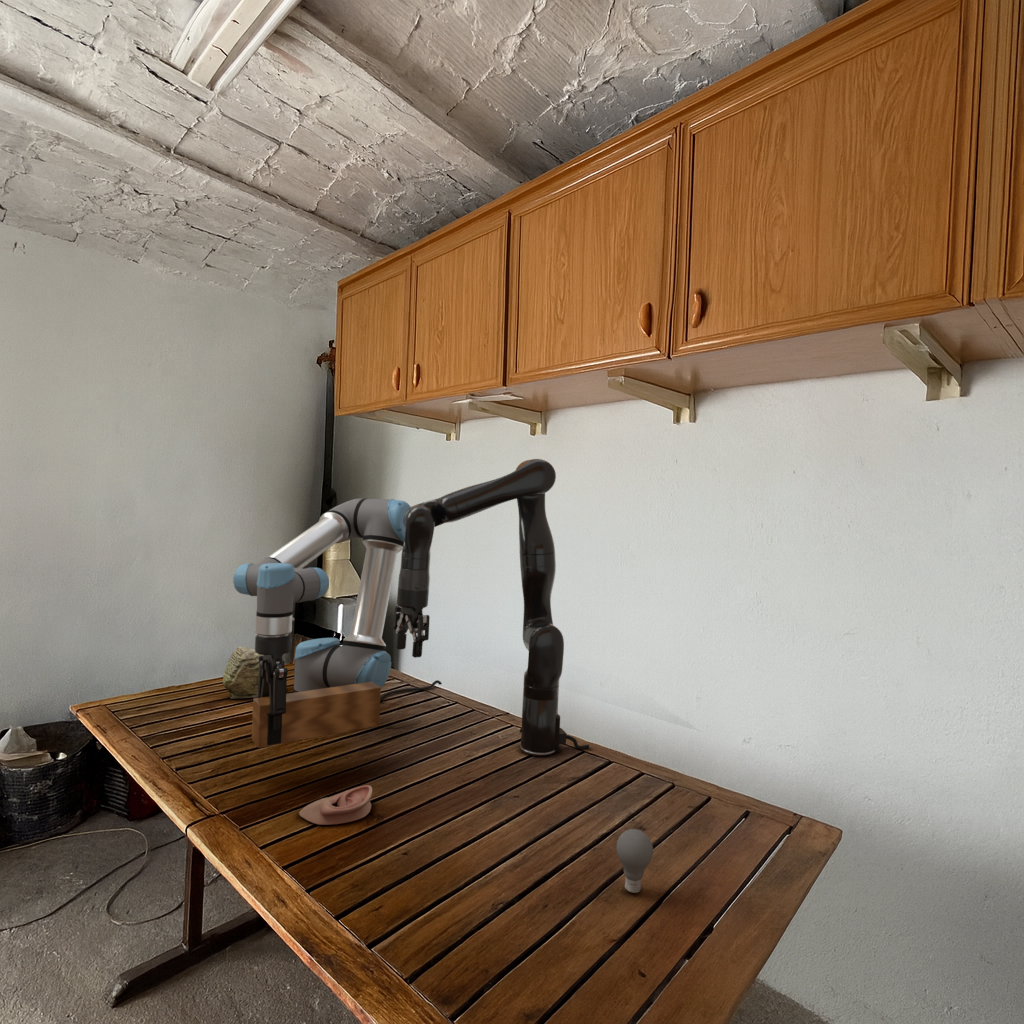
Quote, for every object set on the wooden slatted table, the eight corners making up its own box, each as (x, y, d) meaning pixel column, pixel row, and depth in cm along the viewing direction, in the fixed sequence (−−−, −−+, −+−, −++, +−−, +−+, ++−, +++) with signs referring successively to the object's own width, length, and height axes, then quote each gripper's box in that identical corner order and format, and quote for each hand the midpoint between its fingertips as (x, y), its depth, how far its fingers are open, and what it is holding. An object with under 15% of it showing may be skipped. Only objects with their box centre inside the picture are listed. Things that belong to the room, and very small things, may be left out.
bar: (258, 748, 135) (259, 705, 135) (251, 739, 140) (253, 698, 140) (379, 725, 152) (380, 687, 152) (369, 718, 156) (371, 681, 156)
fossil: (218, 695, 195) (220, 647, 195) (278, 685, 208) (279, 640, 207) (228, 703, 189) (230, 653, 188) (289, 692, 201) (290, 645, 201)
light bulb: (610, 879, 108) (613, 822, 108) (644, 879, 109) (647, 822, 109) (619, 902, 102) (622, 840, 102) (655, 901, 103) (658, 840, 103)
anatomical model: (291, 800, 123) (320, 775, 134) (290, 820, 123) (320, 794, 134) (354, 810, 120) (379, 784, 132) (353, 830, 121) (378, 803, 132)
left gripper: (304, 641, 134) (300, 750, 134) (278, 624, 149) (275, 722, 149) (268, 644, 129) (264, 757, 130) (245, 627, 144) (241, 728, 145)
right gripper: (441, 591, 151) (436, 658, 151) (413, 582, 162) (409, 645, 163) (413, 591, 146) (408, 661, 147) (386, 582, 158) (382, 647, 158)
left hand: (270, 738), depth 139 cm, fingers closed on bar, 6 cm apart
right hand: (408, 652), depth 155 cm, fingers open, 8 cm apart
